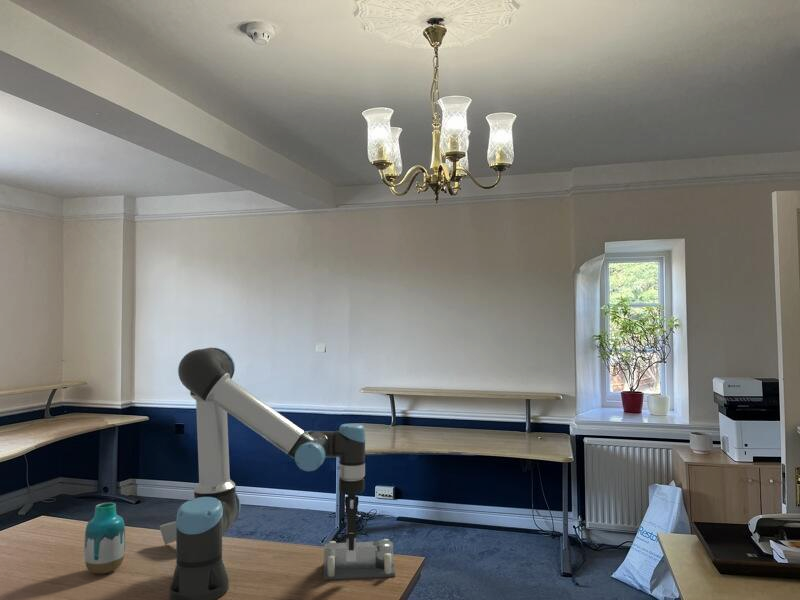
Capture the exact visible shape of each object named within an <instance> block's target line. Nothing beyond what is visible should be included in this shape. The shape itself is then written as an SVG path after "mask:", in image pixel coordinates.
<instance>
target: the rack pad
mask: <svg viewBox="0 0 800 600" xmlns="http://www.w3.org/2000/svg"><path fill="white" fill-rule="evenodd" d="M382 540H388V541H390V539H388V538H384V539H382ZM328 543H337V541H334V540H330V541H329V542H328ZM327 564H328V570H323V580H325V581H327V580H348V579H349V580H351V579H371V578H372V577H374V578H389V577H390V578H393V577H394V578H395V577H396V570H395V565H394V563H393V566H392V567H391V554H390V553H386V554H384V569H378V568H360V569H337V570H335V556H328V557H327Z"/></svg>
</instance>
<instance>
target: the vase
mask: <svg viewBox="0 0 800 600" xmlns="http://www.w3.org/2000/svg"><path fill="white" fill-rule="evenodd" d="M125 527H126V525H125V521H124V518H123V517H122V516H121V515H119V514H117V505H116V503H115V502H110V501H109V502H103V503H99V504H96V505H95V507H94V516H93V517H92V519H90V520H89V521H88V522H87V524H86V526H85V531H84V547H83V548H84V562H85V567H86V569H87V570H88V571H89V572H90V573H91V574H95V575H96V574H97V575H103V574H108V573H111V572H113V571H115V570H117V569H118V568H120V566H121V565H122V563H123V561H124V558H125V551H126V528H125Z"/></svg>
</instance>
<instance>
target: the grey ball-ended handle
mask: <svg viewBox="0 0 800 600" xmlns="http://www.w3.org/2000/svg"><path fill="white" fill-rule="evenodd" d="M388 540H389V539H388ZM388 540H383V539H380V540H379V539H378V540H376V541H356V561H346V542H336V543H329V542H328V543H324V546H323V547H324V549H323V558H324V559H323V571H325V570H328V564H327V557H328V556H335V570H337V569H360V568H378V569H384V554H386V553H390V554H391V567H392V566H393V564H394V543H393V541H391V540H389V541H388Z"/></svg>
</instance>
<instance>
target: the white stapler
mask: <svg viewBox="0 0 800 600" xmlns="http://www.w3.org/2000/svg"><path fill="white" fill-rule="evenodd" d="M159 529H160V530H159V531H160V533H161V536H162V540H163V543H164V545H167V544H168V545H169V544H171V543H174V542H176V520H175V521H170V522H167V523H164V524H162V525H159Z"/></svg>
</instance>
